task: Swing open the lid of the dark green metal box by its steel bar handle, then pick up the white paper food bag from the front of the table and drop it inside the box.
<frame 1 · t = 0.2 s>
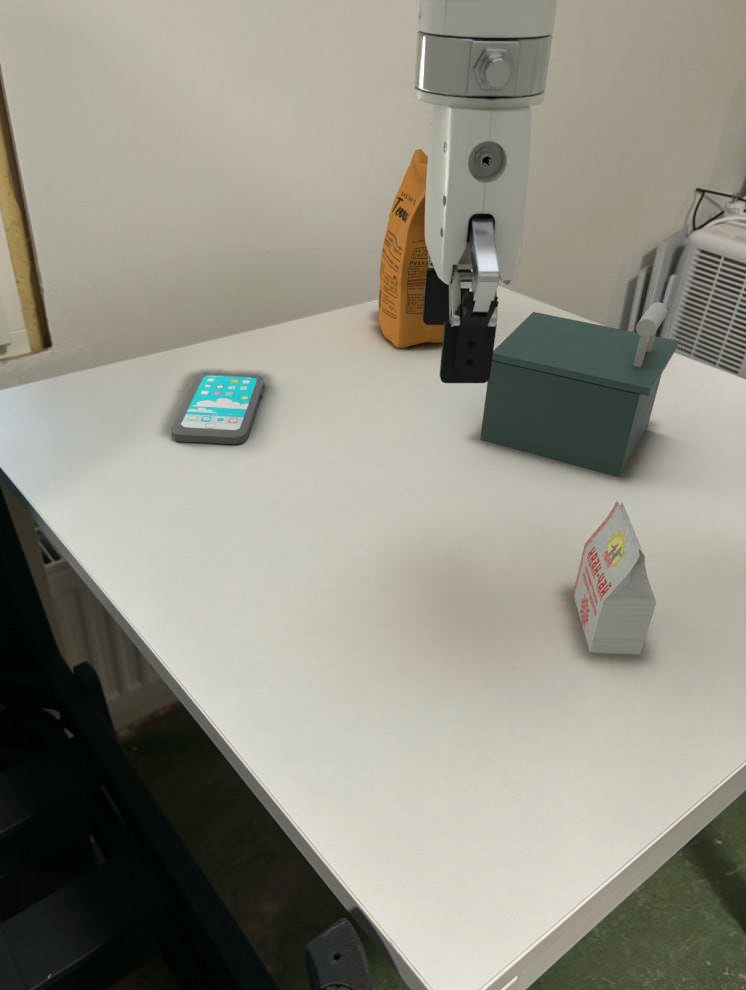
hand: (453, 350, 57), 20 cm above the table, tool pointing down, fingers open, 9 cm apart
green box lid: (590, 327, 81), point 13 cm above the table, hinge at 0.0°
smartphone: (220, 411, 93), on the table
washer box: (564, 438, 89), on the table
coffee package: (414, 333, 112), on the table
white paper food bag: (602, 633, 64), on the table
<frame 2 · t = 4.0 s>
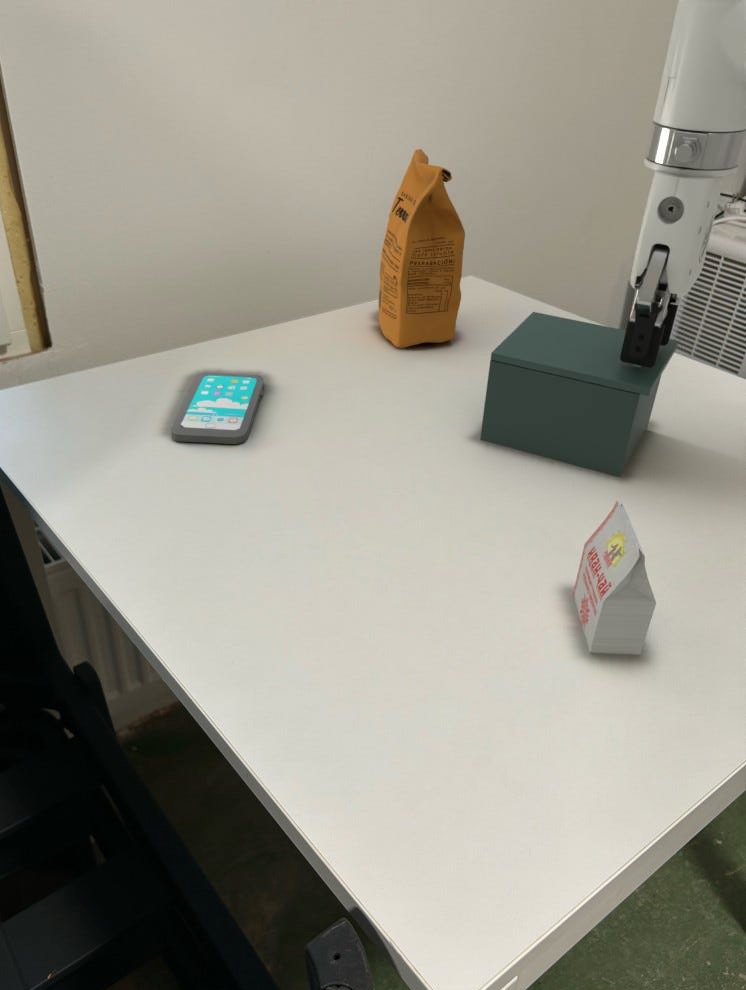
hand: (644, 350, 80), 11 cm above the table, tool pointing down, fingers closed on green box lid, 5 cm apart
green box lid: (590, 327, 81), point 13 cm above the table, hinge at 0.0°, touching gripper
everything else where it was.
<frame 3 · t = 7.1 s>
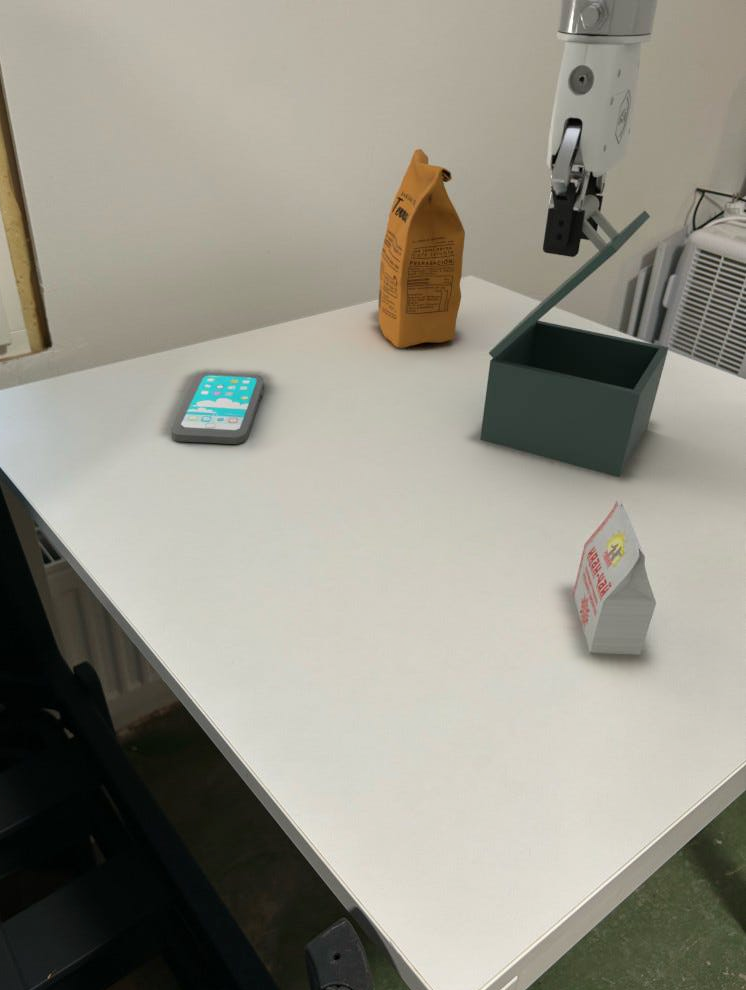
hand: (569, 243, 78), 20 cm above the table, tool pointing down, fingers closed on green box lid, 5 cm apart
green box lid: (552, 266, 80), point 18 cm above the table, hinge at 51.5°, touching gripper
everything else where it was.
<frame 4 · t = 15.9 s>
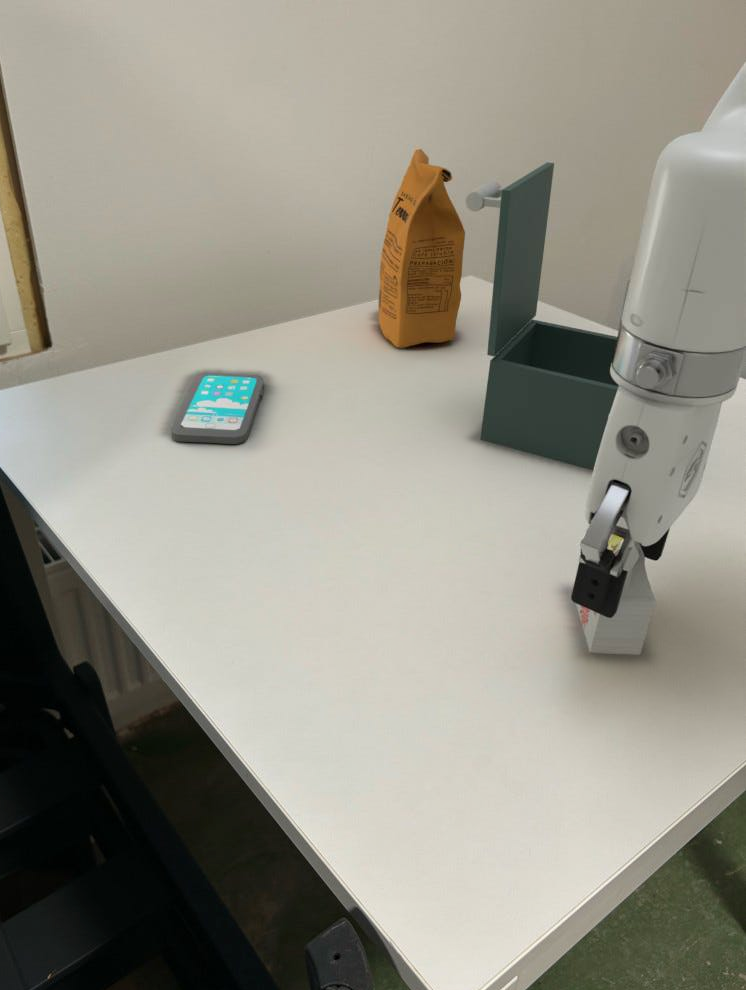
hand: (617, 577, 61), 5 cm above the table, tool pointing down, fingers closed on white paper food bag, 7 cm apart
green box lid: (497, 256, 82), point 18 cm above the table, hinge at 92.1°
white paper food bag: (602, 633, 64), on the table, touching gripper
everything else where it was.
when the fingers open (13 cm above the table, at t = 23.9 s): white paper food bag drops 7 cm, resting on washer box.
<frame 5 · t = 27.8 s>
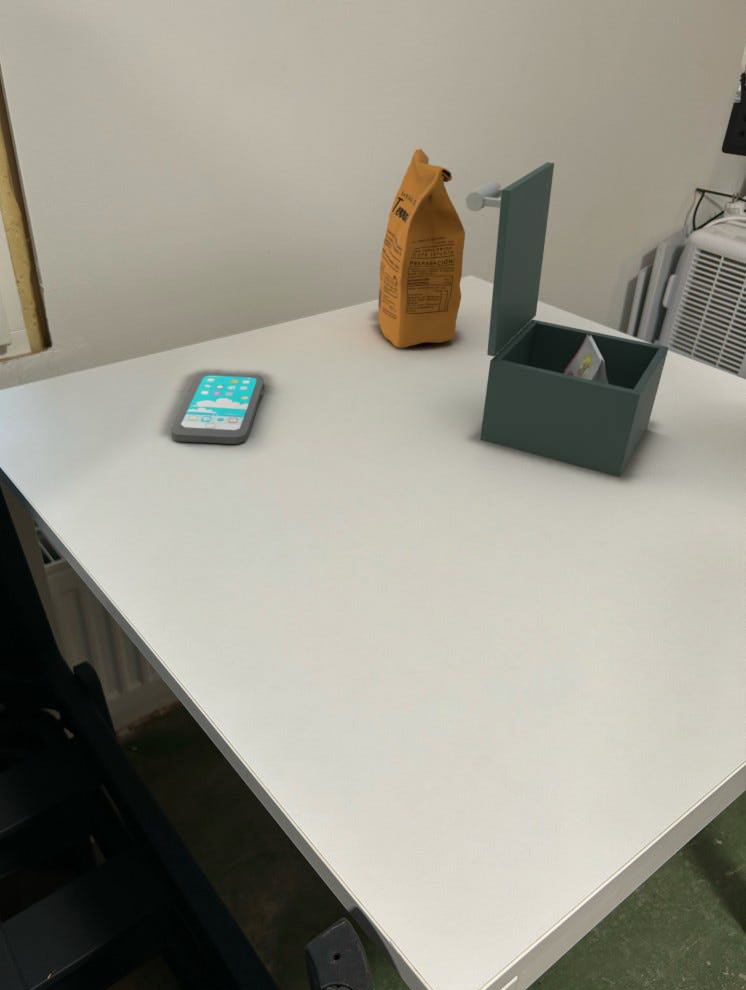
white paper food bag: (577, 437, 88), point 1 cm above the table, touching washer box
everything else where it was.
at the end: green box lid at +92° (first picture: +0°); white paper food bag inside the target area in the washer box (1.4 cm from its centre), point 0.6 cm above the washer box's base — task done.
